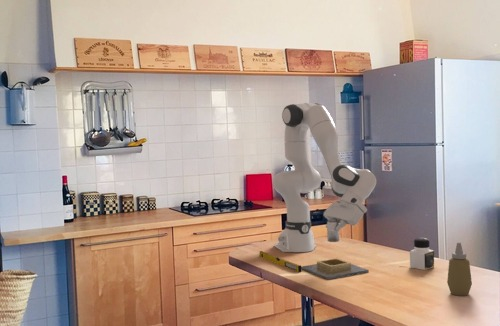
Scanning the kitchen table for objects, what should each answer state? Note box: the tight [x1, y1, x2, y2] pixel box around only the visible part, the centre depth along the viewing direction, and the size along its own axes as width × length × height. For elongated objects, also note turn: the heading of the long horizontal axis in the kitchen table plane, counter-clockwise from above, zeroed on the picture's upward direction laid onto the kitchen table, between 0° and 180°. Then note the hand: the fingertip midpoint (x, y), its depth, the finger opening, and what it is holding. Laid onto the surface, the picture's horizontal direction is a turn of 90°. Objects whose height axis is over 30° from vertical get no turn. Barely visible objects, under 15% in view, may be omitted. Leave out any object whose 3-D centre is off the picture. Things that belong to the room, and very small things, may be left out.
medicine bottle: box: [409, 237, 435, 271], centre depth 233 cm, size 7×7×12 cm
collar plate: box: [301, 257, 369, 280], centre depth 233 cm, size 20×20×4 cm
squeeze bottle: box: [446, 242, 473, 297], centre depth 196 cm, size 8×8×18 cm
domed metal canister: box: [326, 218, 340, 243], centre depth 232 cm, size 5×5×9 cm
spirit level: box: [259, 250, 302, 273], centre depth 247 cm, size 33×1×3 cm, turn 28°
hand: (331, 229), depth 231 cm, fingers closed on domed metal canister, 5 cm apart
